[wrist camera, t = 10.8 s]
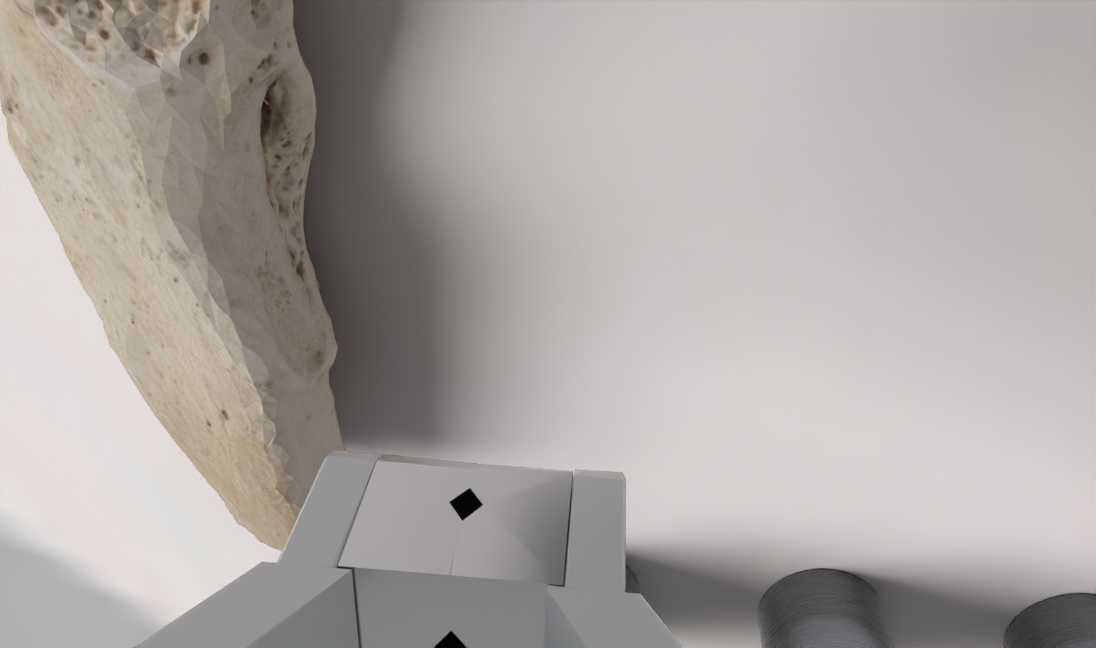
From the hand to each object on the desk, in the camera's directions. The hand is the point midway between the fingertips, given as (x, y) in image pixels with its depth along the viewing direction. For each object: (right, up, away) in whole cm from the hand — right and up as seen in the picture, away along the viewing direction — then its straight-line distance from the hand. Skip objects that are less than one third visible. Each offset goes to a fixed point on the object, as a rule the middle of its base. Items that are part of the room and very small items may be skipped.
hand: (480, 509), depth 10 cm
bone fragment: (-5, +5, +10) cm, 12 cm away
